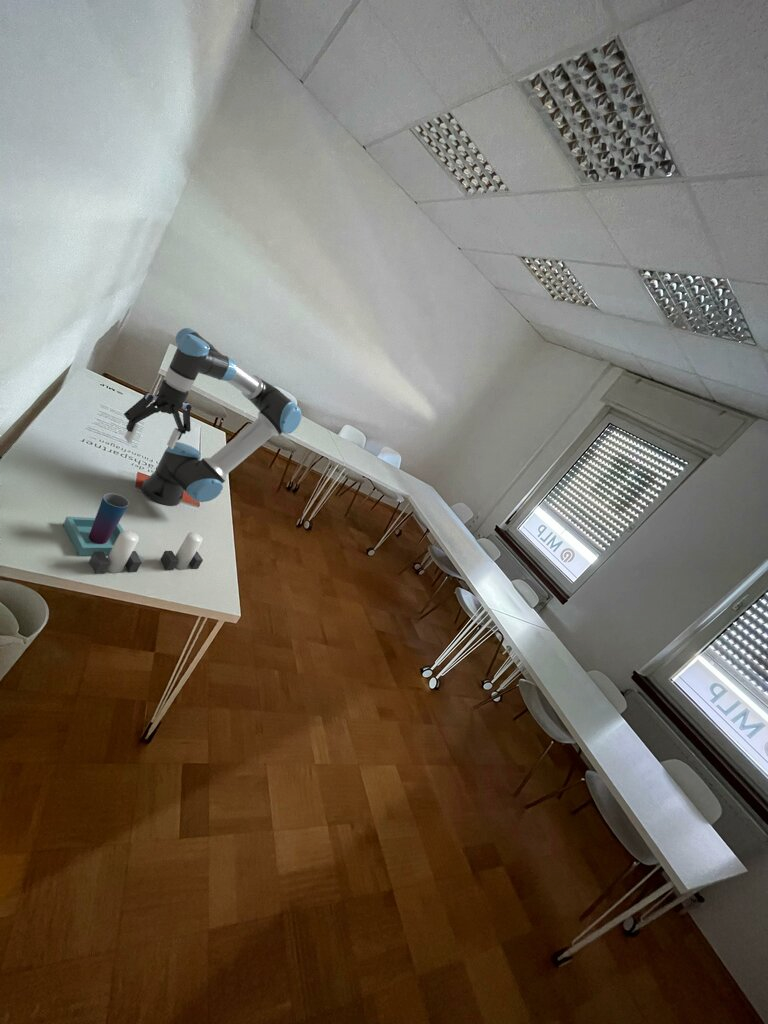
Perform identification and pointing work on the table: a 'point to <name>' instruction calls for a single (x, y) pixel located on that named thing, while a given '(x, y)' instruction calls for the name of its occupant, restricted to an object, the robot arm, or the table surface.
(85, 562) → the table surface
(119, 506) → the cup
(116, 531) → the tray
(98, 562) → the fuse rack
